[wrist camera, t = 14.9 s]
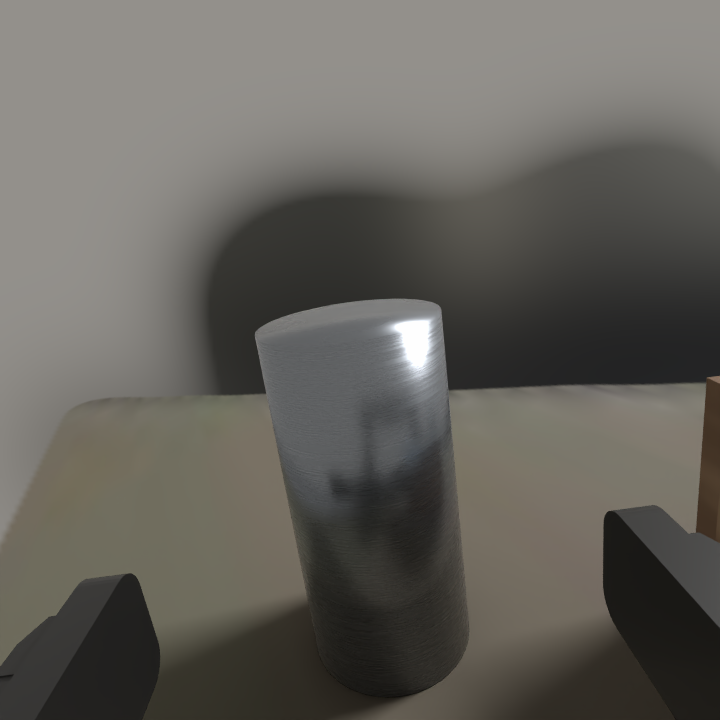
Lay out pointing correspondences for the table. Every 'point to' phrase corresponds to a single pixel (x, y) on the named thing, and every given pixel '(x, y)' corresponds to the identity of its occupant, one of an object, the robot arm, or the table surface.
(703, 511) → the box
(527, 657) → the table surface
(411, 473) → the canister
